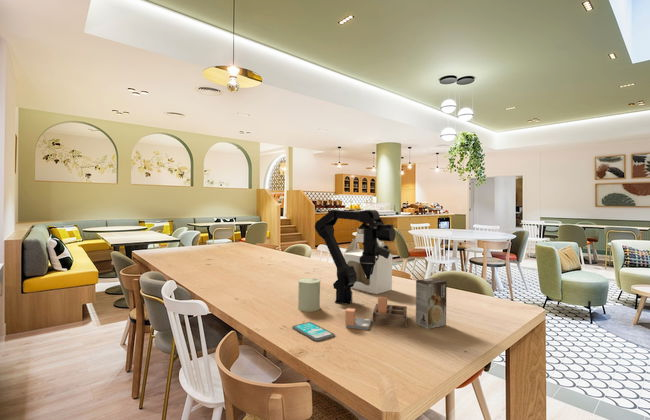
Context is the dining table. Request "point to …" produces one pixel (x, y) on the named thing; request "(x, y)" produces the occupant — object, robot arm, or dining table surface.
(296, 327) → the smartphone
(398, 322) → the socket block
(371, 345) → the dining table surface
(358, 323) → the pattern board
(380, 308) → the peg
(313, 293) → the can
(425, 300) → the coffee box
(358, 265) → the gable box
